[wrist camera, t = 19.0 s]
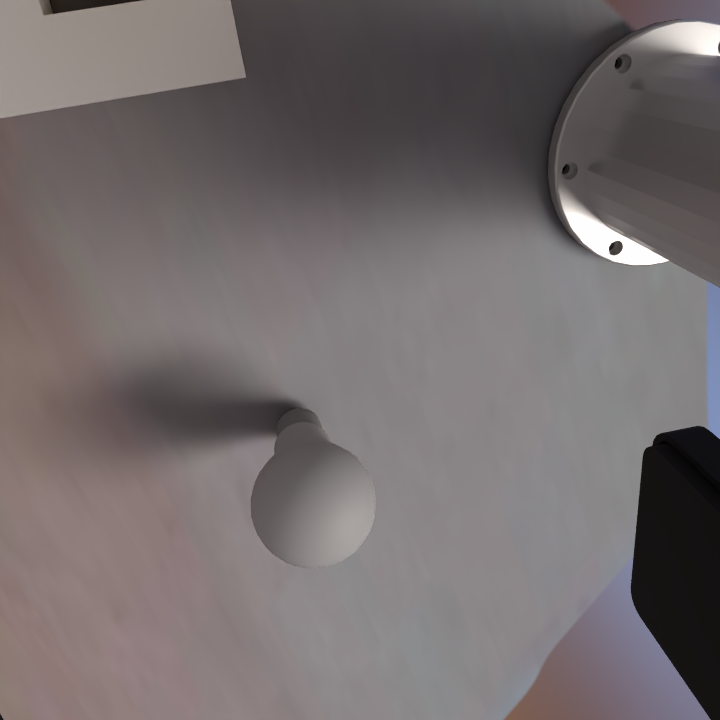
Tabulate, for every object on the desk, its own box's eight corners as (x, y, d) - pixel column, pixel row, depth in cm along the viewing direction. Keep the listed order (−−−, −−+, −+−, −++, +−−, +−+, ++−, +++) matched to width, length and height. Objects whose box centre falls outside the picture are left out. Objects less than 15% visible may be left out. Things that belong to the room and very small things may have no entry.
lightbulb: (319, 355, 39) (352, 467, 29) (364, 433, 42) (409, 557, 32) (225, 405, 39) (227, 532, 29) (277, 478, 42) (294, 615, 32)
